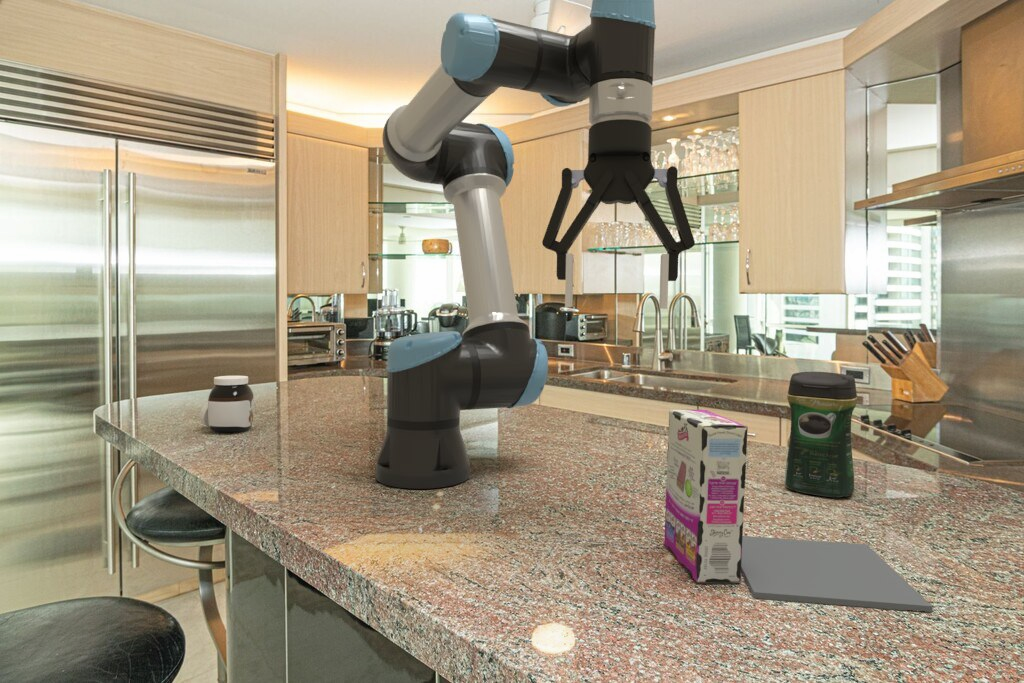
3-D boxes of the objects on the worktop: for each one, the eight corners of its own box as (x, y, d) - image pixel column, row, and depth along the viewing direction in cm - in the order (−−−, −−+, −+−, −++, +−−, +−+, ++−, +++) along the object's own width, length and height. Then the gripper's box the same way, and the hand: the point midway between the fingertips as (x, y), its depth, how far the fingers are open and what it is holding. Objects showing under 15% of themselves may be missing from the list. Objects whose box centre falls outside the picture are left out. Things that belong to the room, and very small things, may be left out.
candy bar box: (744, 584, 66) (750, 425, 65) (697, 585, 66) (702, 425, 65) (703, 544, 77) (707, 407, 77) (662, 544, 77) (666, 407, 76)
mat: (753, 598, 63) (754, 592, 63) (725, 539, 79) (725, 534, 79) (932, 612, 61) (932, 606, 61) (866, 549, 77) (866, 544, 77)
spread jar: (239, 435, 135) (238, 380, 134) (185, 434, 135) (184, 379, 135) (262, 425, 147) (261, 374, 146) (212, 424, 147) (212, 373, 147)
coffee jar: (857, 491, 101) (863, 372, 100) (847, 503, 95) (852, 376, 94) (792, 480, 107) (797, 368, 106) (778, 490, 101) (782, 371, 100)
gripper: (520, 118, 76) (517, 306, 78) (725, 113, 73) (718, 309, 74) (528, 135, 84) (525, 306, 85) (714, 131, 80) (708, 309, 82)
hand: (615, 308), depth 80 cm, fingers open, 11 cm apart
